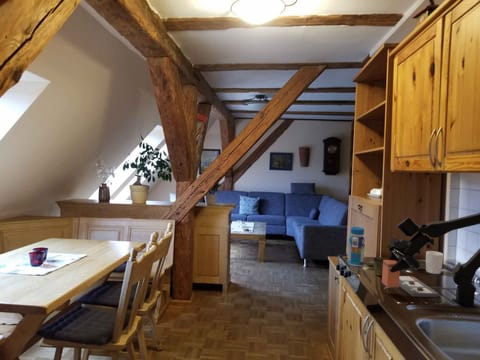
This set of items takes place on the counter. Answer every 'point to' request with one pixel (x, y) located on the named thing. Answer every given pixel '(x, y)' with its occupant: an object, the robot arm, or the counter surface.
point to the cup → (378, 265)
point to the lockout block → (390, 274)
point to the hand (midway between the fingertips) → (387, 269)
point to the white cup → (434, 262)
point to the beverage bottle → (356, 247)
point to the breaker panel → (416, 287)
